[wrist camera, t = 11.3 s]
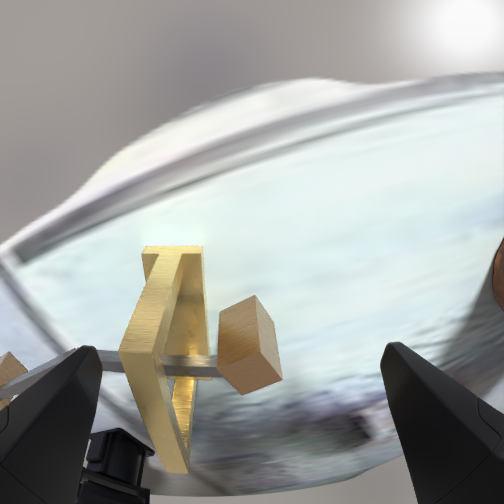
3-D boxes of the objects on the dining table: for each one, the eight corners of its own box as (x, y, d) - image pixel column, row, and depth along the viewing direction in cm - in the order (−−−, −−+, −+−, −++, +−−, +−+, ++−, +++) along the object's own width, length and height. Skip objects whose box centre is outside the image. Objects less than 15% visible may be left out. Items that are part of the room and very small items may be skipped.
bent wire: (273, 322, 25) (282, 379, 19) (52, 408, 30) (36, 445, 25) (210, 228, 21) (201, 274, 16) (-1, 358, 26) (-24, 393, 21)
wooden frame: (212, 370, 27) (206, 474, 18) (167, 368, 27) (149, 470, 17) (202, 245, 22) (181, 354, 12) (145, 246, 21) (91, 349, 12)
